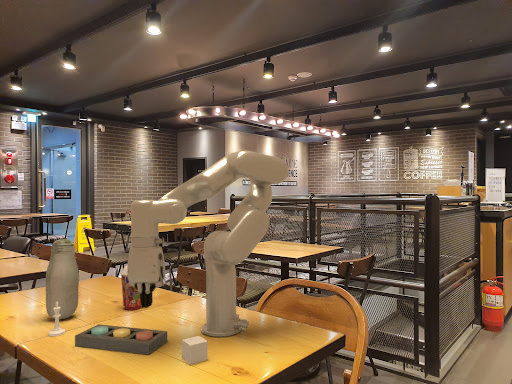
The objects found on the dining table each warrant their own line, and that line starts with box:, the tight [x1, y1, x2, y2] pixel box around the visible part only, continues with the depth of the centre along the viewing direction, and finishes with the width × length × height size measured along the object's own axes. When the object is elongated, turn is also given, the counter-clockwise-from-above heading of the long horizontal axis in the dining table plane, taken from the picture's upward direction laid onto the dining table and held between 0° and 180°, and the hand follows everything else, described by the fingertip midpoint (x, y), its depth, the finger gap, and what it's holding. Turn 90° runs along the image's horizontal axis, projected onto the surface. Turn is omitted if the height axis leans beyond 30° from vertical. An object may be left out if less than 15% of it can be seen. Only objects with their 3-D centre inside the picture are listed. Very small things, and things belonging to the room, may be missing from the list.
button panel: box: [74, 323, 168, 356], centre depth 110 cm, size 24×10×3 cm, turn 74°
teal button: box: [91, 326, 108, 336], centre depth 112 cm, size 5×5×3 cm
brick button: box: [136, 331, 153, 341], centre depth 108 cm, size 5×5×3 cm
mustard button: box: [113, 328, 130, 338], centre depth 110 cm, size 5×5×3 cm
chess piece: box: [47, 301, 66, 337], centre depth 119 cm, size 5×5×10 cm
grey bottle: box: [45, 238, 80, 321], centre depth 134 cm, size 10×10×28 cm
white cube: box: [181, 335, 209, 366], centre depth 99 cm, size 5×5×5 cm
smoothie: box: [120, 264, 141, 311], centre depth 146 cm, size 8×8×20 cm
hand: (146, 306), depth 109 cm, fingers closed
